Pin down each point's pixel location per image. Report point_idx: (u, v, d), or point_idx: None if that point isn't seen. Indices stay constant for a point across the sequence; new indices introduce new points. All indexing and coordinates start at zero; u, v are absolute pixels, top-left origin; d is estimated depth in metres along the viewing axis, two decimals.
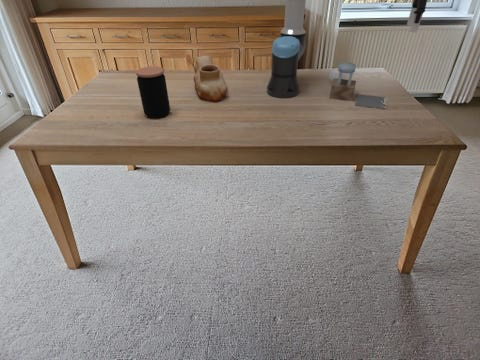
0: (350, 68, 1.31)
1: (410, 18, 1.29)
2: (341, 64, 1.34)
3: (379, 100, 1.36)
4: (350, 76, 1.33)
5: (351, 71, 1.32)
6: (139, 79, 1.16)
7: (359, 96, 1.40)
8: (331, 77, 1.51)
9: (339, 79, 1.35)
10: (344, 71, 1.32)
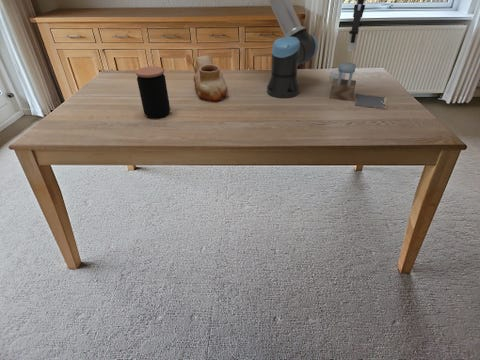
0: (350, 68, 1.31)
1: None
2: (341, 64, 1.34)
3: (379, 100, 1.36)
4: (350, 76, 1.33)
5: (351, 71, 1.32)
6: (139, 79, 1.16)
7: (359, 96, 1.40)
8: (331, 77, 1.51)
9: (339, 79, 1.35)
10: (344, 71, 1.32)
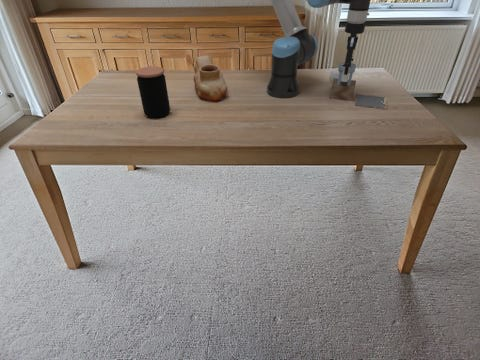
0: (350, 68, 1.31)
1: None
2: (341, 64, 1.34)
3: (379, 100, 1.36)
4: (350, 76, 1.33)
5: (351, 71, 1.32)
6: (139, 79, 1.16)
7: (359, 96, 1.40)
8: (331, 77, 1.51)
9: (339, 79, 1.35)
10: None
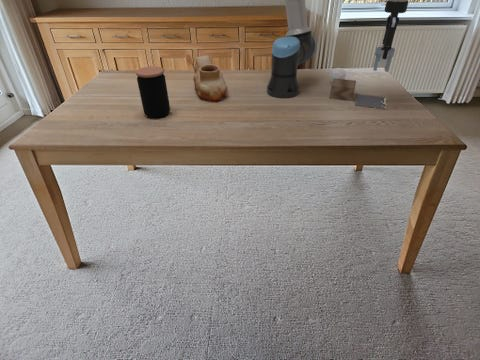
0: (389, 52, 1.20)
1: None
2: (378, 48, 1.23)
3: (379, 100, 1.36)
4: (389, 61, 1.22)
5: (390, 55, 1.21)
6: (139, 79, 1.16)
7: (359, 96, 1.40)
8: (331, 77, 1.51)
9: (376, 64, 1.24)
10: None
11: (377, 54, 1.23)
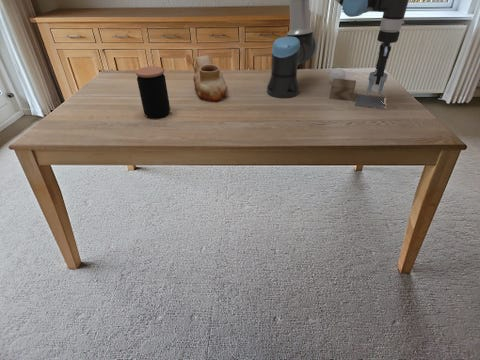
0: (382, 78, 1.26)
1: None
2: (372, 73, 1.30)
3: (379, 100, 1.36)
4: (381, 86, 1.28)
5: (383, 81, 1.27)
6: (139, 79, 1.16)
7: (359, 96, 1.40)
8: (331, 77, 1.51)
9: (369, 89, 1.31)
10: None
11: (370, 79, 1.29)
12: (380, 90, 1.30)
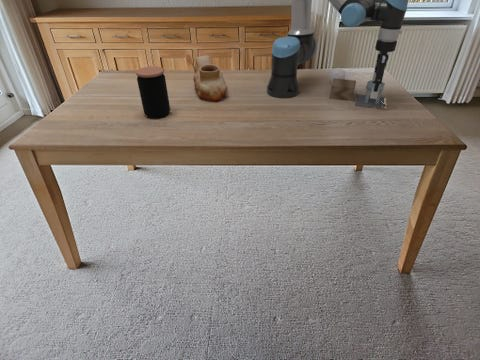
0: None
1: None
2: (369, 82, 1.32)
3: (379, 100, 1.36)
4: (379, 94, 1.31)
5: (380, 90, 1.30)
6: (139, 79, 1.16)
7: (359, 96, 1.40)
8: (331, 77, 1.51)
9: (367, 97, 1.33)
10: None
11: (368, 88, 1.31)
12: (377, 99, 1.32)
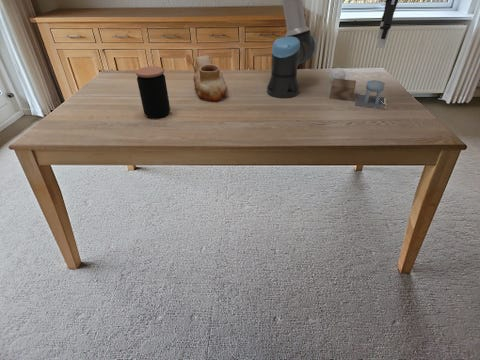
0: (379, 87, 1.29)
1: (380, 32, 1.26)
2: (369, 82, 1.32)
3: (379, 100, 1.36)
4: (379, 94, 1.31)
5: (380, 90, 1.30)
6: (139, 79, 1.16)
7: (359, 96, 1.40)
8: (331, 77, 1.51)
9: (367, 97, 1.33)
10: (373, 89, 1.30)
11: (368, 88, 1.31)
12: (377, 99, 1.32)
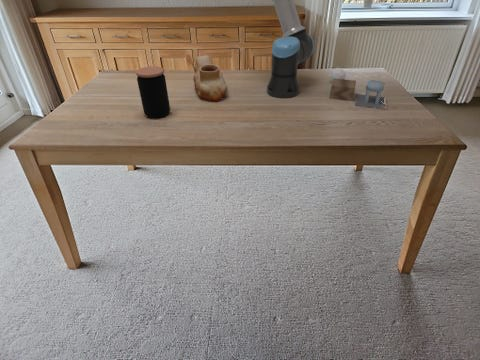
0: (379, 87, 1.29)
1: None
2: (369, 82, 1.32)
3: (379, 100, 1.36)
4: (379, 94, 1.31)
5: (380, 90, 1.30)
6: (139, 79, 1.16)
7: (359, 96, 1.40)
8: (331, 77, 1.51)
9: (367, 97, 1.33)
10: (373, 89, 1.30)
11: (368, 88, 1.31)
12: (377, 99, 1.32)
